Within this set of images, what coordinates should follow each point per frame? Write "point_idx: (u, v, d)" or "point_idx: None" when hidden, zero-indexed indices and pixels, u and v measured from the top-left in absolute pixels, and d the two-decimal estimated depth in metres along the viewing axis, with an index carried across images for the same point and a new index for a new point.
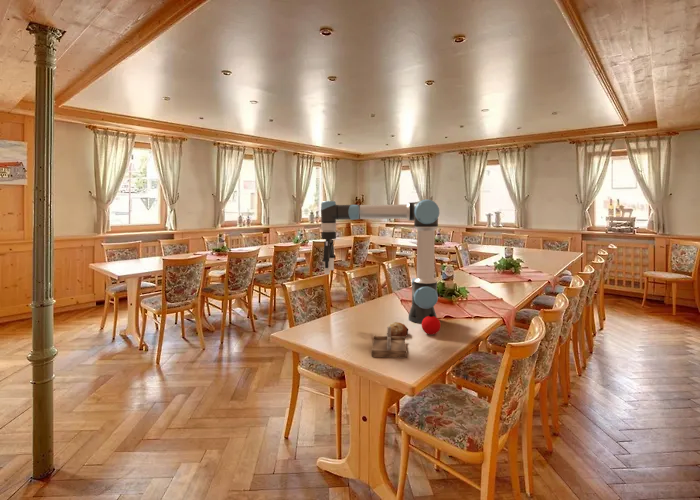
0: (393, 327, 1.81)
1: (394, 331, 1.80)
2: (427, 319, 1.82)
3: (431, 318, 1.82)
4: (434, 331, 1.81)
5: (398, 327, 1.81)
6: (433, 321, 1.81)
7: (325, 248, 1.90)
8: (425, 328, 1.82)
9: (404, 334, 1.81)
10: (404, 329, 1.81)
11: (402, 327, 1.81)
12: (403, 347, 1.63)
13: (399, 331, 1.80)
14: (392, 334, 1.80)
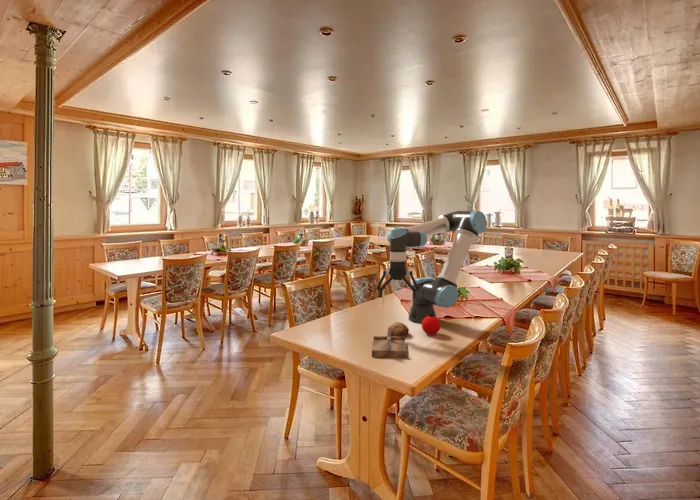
0: (393, 327, 1.81)
1: (394, 331, 1.80)
2: (427, 319, 1.82)
3: (431, 318, 1.82)
4: (434, 331, 1.81)
5: (398, 327, 1.81)
6: (433, 321, 1.81)
7: (381, 277, 1.83)
8: (425, 328, 1.82)
9: (404, 334, 1.81)
10: (404, 329, 1.81)
11: (402, 327, 1.81)
12: (403, 347, 1.63)
13: (399, 331, 1.80)
14: (392, 334, 1.80)
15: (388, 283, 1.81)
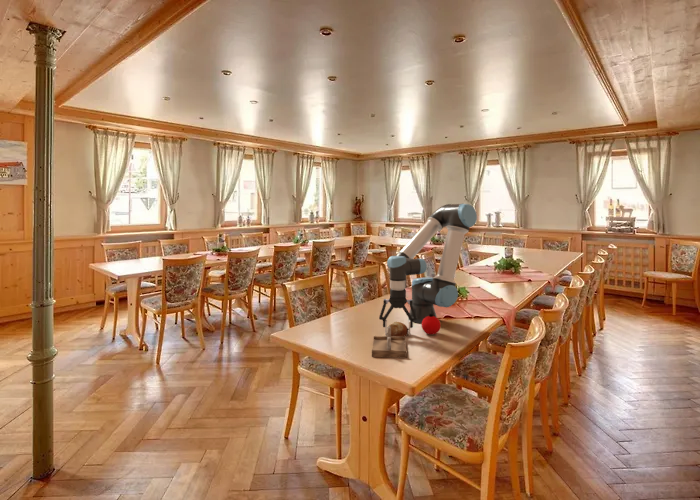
0: (393, 327, 1.81)
1: (394, 331, 1.80)
2: (427, 319, 1.82)
3: (431, 318, 1.82)
4: (434, 331, 1.81)
5: (398, 327, 1.81)
6: (433, 321, 1.81)
7: None
8: (425, 328, 1.82)
9: (404, 333, 1.81)
10: (404, 329, 1.81)
11: (402, 327, 1.81)
12: (403, 347, 1.63)
13: (399, 331, 1.80)
14: (392, 334, 1.80)
15: None
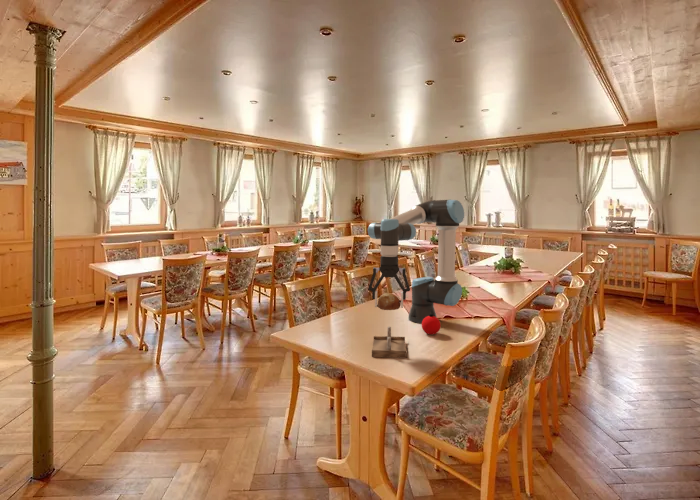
0: (384, 298, 1.61)
1: (384, 302, 1.60)
2: (427, 319, 1.82)
3: (431, 318, 1.82)
4: (434, 331, 1.81)
5: (389, 298, 1.61)
6: (433, 321, 1.81)
7: None
8: (425, 328, 1.82)
9: (396, 306, 1.60)
10: (396, 300, 1.61)
11: (394, 298, 1.61)
12: (403, 347, 1.63)
13: (390, 302, 1.60)
14: (382, 305, 1.60)
15: (380, 282, 1.62)
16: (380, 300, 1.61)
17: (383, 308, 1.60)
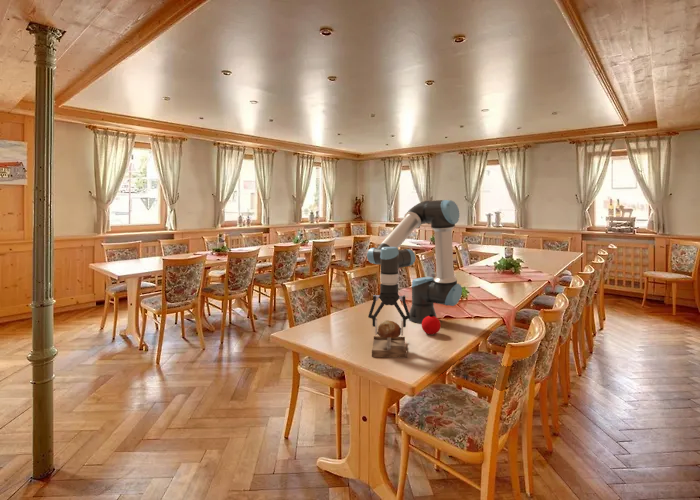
0: (384, 326, 1.61)
1: (385, 330, 1.60)
2: (427, 319, 1.82)
3: (431, 318, 1.82)
4: (434, 331, 1.81)
5: (389, 326, 1.61)
6: (433, 321, 1.81)
7: None
8: (425, 328, 1.82)
9: (396, 334, 1.61)
10: (396, 328, 1.61)
11: (394, 326, 1.61)
12: (403, 347, 1.63)
13: (390, 330, 1.60)
14: (382, 334, 1.60)
15: (380, 309, 1.63)
16: (380, 328, 1.62)
17: (383, 336, 1.60)
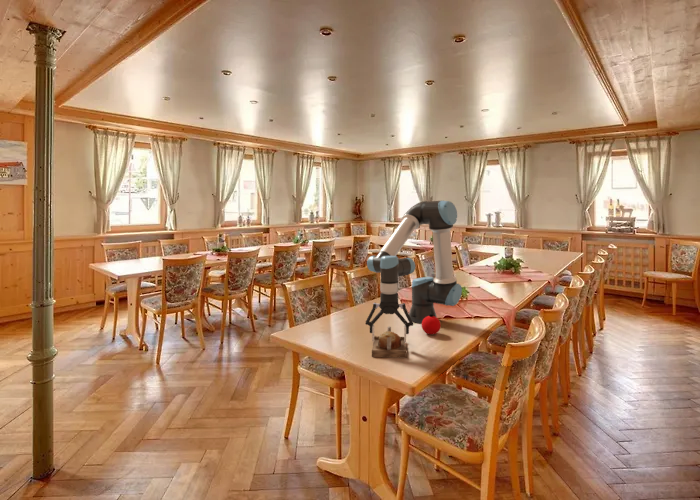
0: (384, 337, 1.62)
1: (385, 341, 1.61)
2: (427, 319, 1.82)
3: (431, 318, 1.82)
4: (434, 331, 1.81)
5: None
6: (433, 321, 1.81)
7: (371, 310, 1.65)
8: (425, 328, 1.82)
9: (396, 345, 1.61)
10: (397, 339, 1.62)
11: (394, 337, 1.62)
12: (403, 347, 1.63)
13: (391, 342, 1.60)
14: (383, 345, 1.61)
15: None
16: (381, 339, 1.62)
17: (384, 347, 1.61)
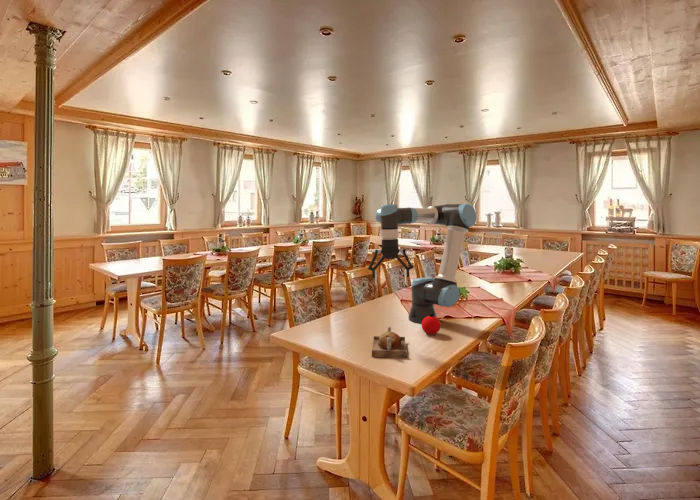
0: (384, 337, 1.62)
1: (385, 342, 1.61)
2: (427, 319, 1.82)
3: (431, 318, 1.82)
4: (434, 331, 1.81)
5: None
6: (433, 321, 1.81)
7: None
8: (425, 328, 1.82)
9: (397, 345, 1.61)
10: (397, 339, 1.62)
11: (394, 337, 1.62)
12: (403, 347, 1.63)
13: (391, 342, 1.60)
14: (383, 345, 1.61)
15: (380, 262, 1.74)
16: (381, 339, 1.62)
17: (384, 347, 1.61)
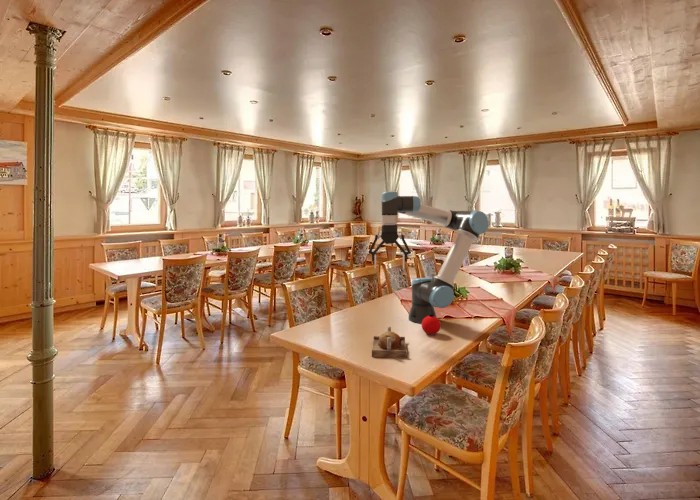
0: (384, 337, 1.62)
1: (386, 341, 1.61)
2: (427, 319, 1.82)
3: (431, 318, 1.82)
4: (434, 331, 1.81)
5: None
6: (433, 321, 1.81)
7: None
8: (425, 328, 1.82)
9: (397, 345, 1.61)
10: (397, 339, 1.62)
11: (395, 337, 1.62)
12: (403, 347, 1.63)
13: (391, 342, 1.60)
14: (383, 345, 1.61)
15: None
16: (381, 339, 1.62)
17: (384, 347, 1.61)
